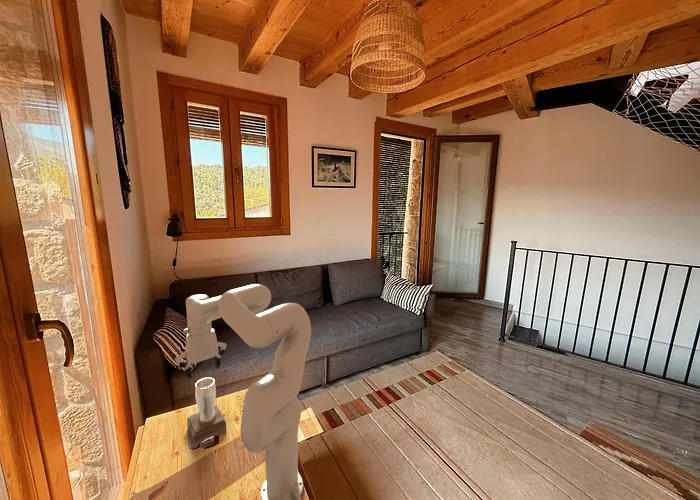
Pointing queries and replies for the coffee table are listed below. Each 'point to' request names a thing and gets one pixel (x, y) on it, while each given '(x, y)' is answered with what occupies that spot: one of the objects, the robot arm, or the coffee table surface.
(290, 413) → the robot arm
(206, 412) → the beer glass
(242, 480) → the coffee table surface
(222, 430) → the plinth
